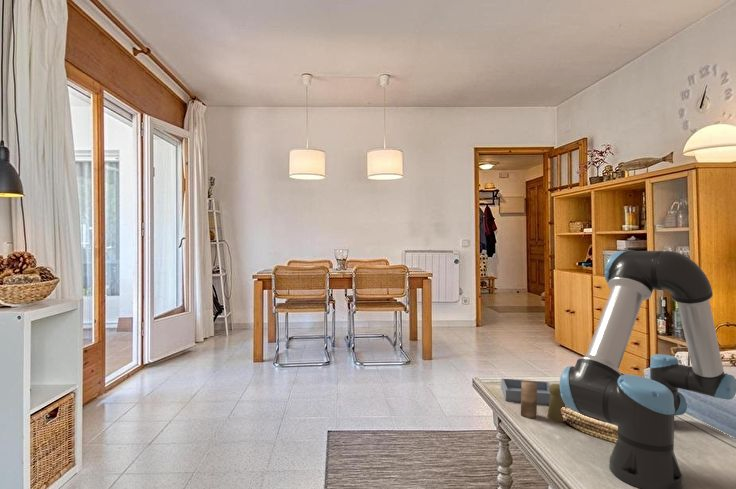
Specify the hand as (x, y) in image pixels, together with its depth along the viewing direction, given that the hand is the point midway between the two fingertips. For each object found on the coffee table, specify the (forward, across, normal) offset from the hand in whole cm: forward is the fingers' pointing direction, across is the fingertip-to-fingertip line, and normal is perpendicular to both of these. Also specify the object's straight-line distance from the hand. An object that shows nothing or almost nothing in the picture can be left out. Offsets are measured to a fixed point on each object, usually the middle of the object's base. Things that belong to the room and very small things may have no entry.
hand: (568, 400), depth 141 cm
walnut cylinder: (+13, +1, -6) cm, 14 cm away
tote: (+7, +20, -6) cm, 22 cm away
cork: (+4, -1, -6) cm, 7 cm away
